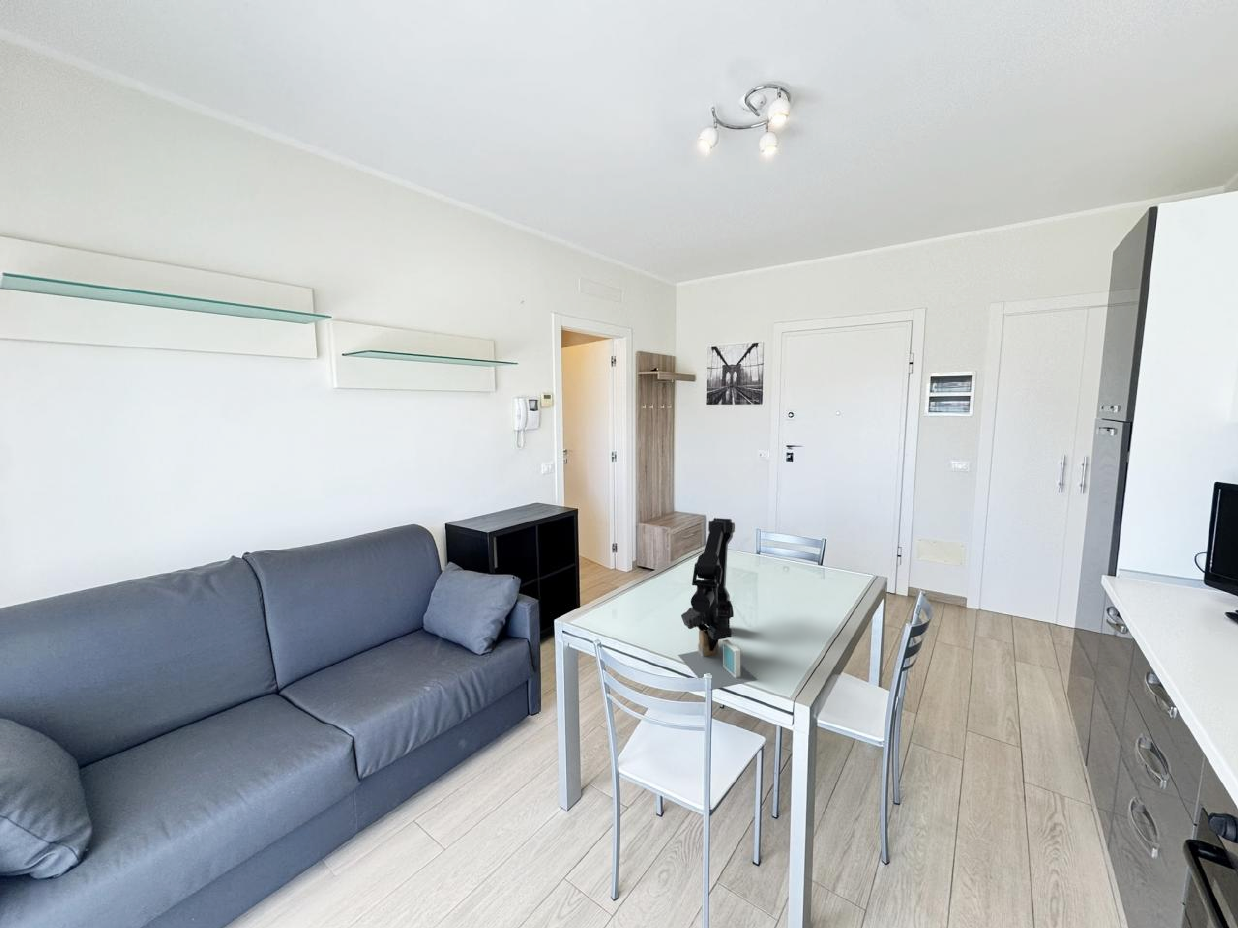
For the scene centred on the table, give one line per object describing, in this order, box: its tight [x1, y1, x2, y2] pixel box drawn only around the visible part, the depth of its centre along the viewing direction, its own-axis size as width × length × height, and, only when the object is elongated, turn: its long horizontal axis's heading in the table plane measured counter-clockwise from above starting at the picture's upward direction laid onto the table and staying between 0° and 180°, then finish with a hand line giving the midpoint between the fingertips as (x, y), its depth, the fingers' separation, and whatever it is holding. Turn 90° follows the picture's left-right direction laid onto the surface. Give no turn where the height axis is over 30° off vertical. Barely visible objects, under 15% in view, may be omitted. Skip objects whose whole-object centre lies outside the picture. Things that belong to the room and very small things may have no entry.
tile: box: [722, 638, 741, 678], centre depth 144 cm, size 2×7×8 cm, turn 18°
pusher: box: [697, 630, 719, 657], centre depth 155 cm, size 5×3×7 cm, turn 108°
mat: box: [677, 646, 758, 691], centre depth 147 cm, size 15×21×1 cm
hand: (708, 648), depth 155 cm, fingers closed on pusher, 3 cm apart
